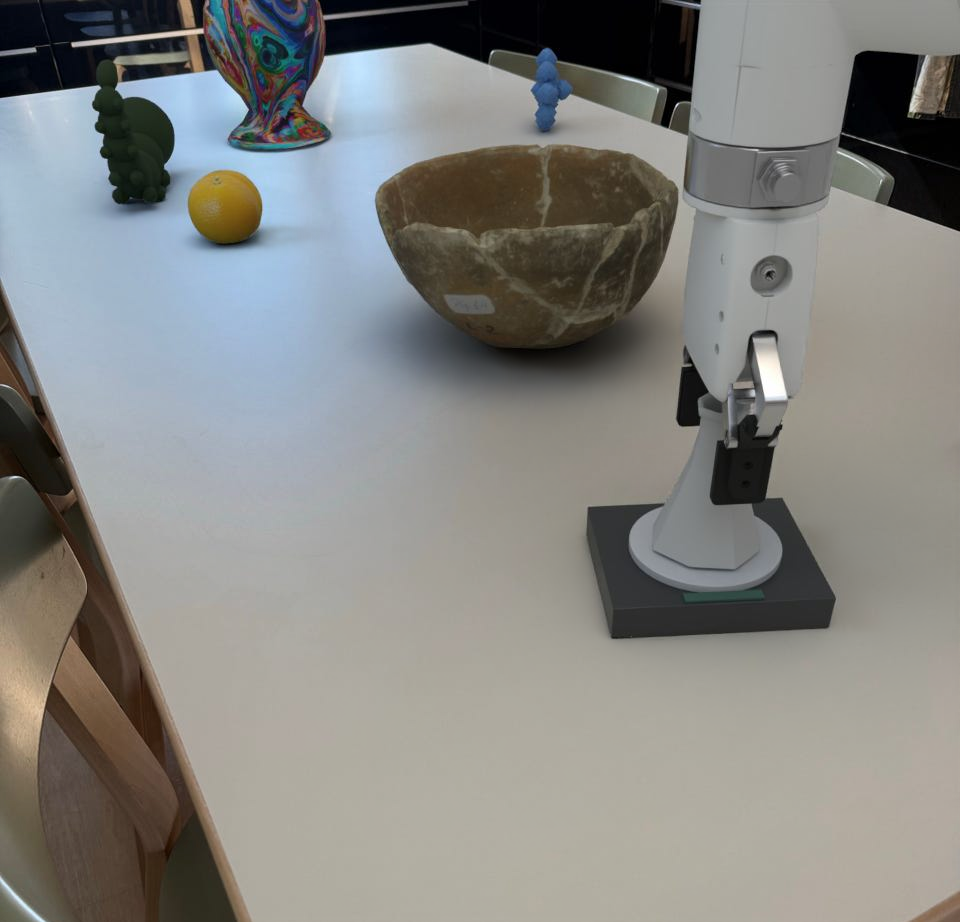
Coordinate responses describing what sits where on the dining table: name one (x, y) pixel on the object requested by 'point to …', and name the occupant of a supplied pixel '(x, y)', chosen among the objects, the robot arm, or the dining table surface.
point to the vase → (269, 66)
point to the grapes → (548, 89)
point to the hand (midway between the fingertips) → (717, 460)
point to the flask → (705, 506)
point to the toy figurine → (132, 140)
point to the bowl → (529, 238)
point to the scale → (705, 578)
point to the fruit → (225, 206)
